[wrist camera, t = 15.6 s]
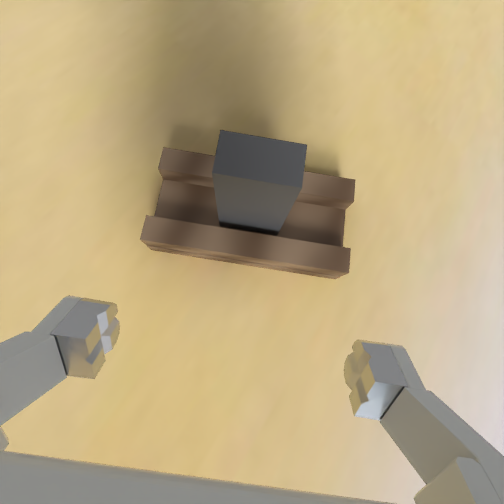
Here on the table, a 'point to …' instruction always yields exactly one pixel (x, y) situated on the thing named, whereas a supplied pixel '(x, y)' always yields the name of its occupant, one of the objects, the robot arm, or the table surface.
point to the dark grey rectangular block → (256, 181)
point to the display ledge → (242, 241)
